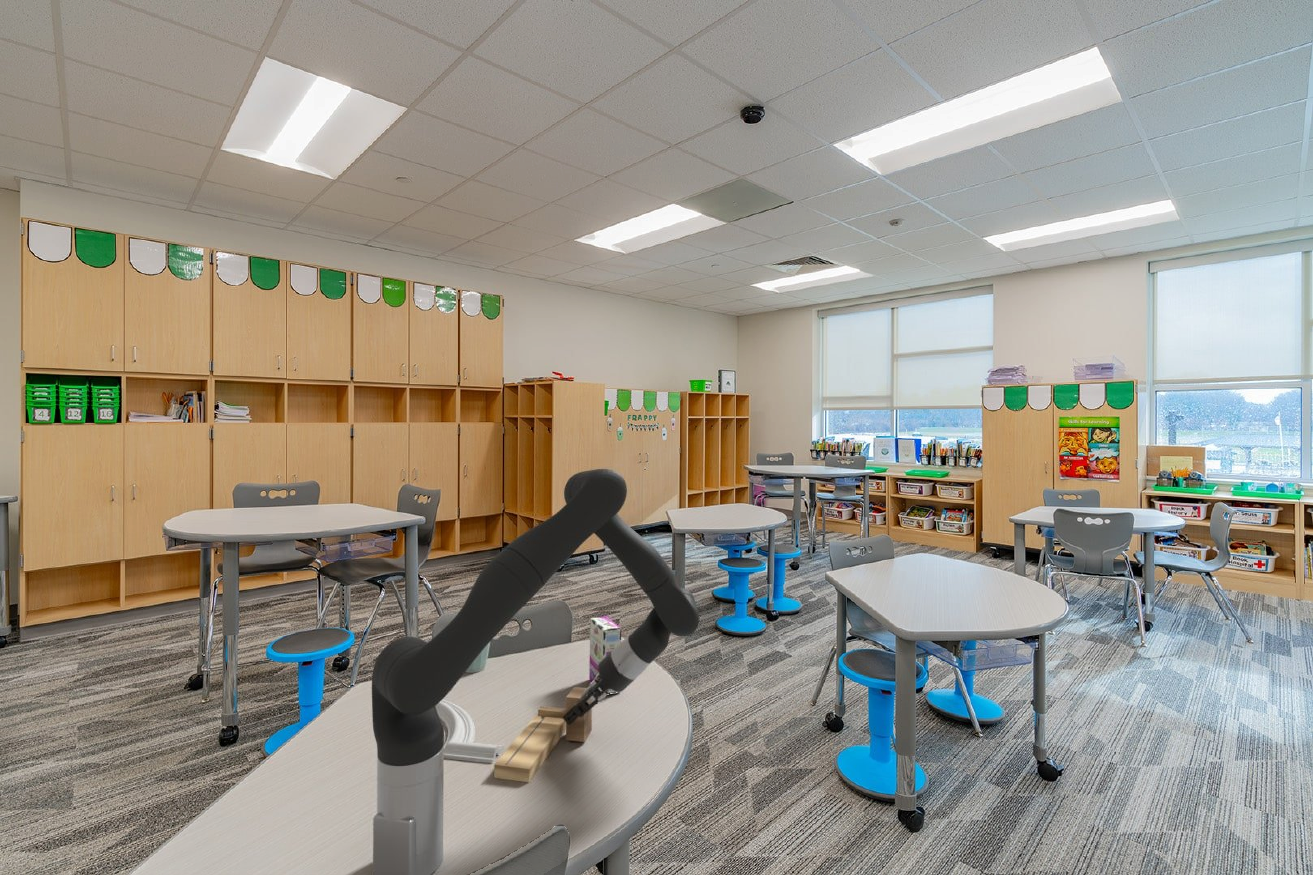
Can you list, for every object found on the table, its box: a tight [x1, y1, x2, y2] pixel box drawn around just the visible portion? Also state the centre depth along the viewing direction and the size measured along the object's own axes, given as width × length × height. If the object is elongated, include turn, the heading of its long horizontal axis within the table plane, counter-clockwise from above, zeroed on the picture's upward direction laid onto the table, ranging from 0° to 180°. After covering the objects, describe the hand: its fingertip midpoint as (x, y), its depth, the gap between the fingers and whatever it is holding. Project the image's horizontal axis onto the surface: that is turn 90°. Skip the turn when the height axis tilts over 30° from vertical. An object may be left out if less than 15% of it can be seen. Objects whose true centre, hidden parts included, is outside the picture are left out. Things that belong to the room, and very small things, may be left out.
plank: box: [493, 712, 566, 783], centre depth 122 cm, size 24×7×3 cm, turn 169°
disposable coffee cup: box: [465, 641, 491, 674], centre depth 161 cm, size 11×11×15 cm
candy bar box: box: [588, 616, 622, 694], centre depth 151 cm, size 11×5×16 cm, turn 25°
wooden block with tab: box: [537, 686, 593, 743], centre depth 126 cm, size 5×11×9 cm, turn 78°
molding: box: [436, 687, 505, 764], centre depth 132 cm, size 42×12×3 cm, turn 36°
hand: (570, 714), depth 126 cm, fingers closed on wooden block with tab, 5 cm apart
